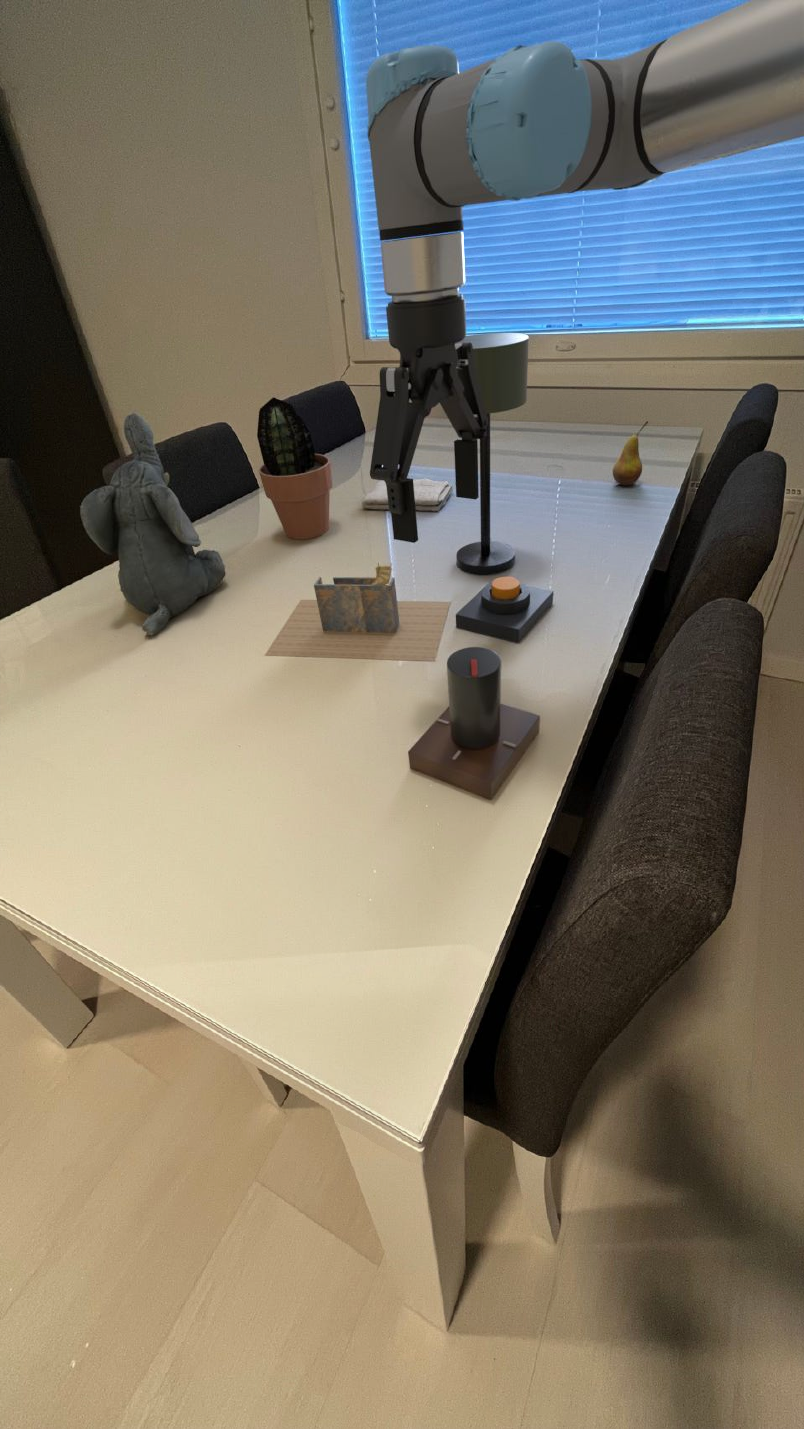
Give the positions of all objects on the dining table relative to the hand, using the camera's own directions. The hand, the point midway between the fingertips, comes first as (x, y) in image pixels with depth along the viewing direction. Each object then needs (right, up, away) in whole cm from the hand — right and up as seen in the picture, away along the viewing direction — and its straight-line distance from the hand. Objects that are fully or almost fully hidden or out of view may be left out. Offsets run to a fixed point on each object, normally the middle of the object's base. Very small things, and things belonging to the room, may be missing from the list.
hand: (438, 517), depth 70 cm
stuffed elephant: (-44, -3, +35) cm, 56 cm away
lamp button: (+11, -5, +18) cm, 21 cm away
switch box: (+11, -8, +20) cm, 24 cm away
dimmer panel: (+4, -27, -2) cm, 27 cm away
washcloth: (-3, +23, +61) cm, 65 cm away
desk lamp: (+10, +4, +35) cm, 36 cm away
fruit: (+43, +26, +57) cm, 76 cm away
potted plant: (-24, +14, +53) cm, 60 cm away
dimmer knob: (+4, -25, -3) cm, 25 cm away
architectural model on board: (-10, -10, +21) cm, 26 cm away
